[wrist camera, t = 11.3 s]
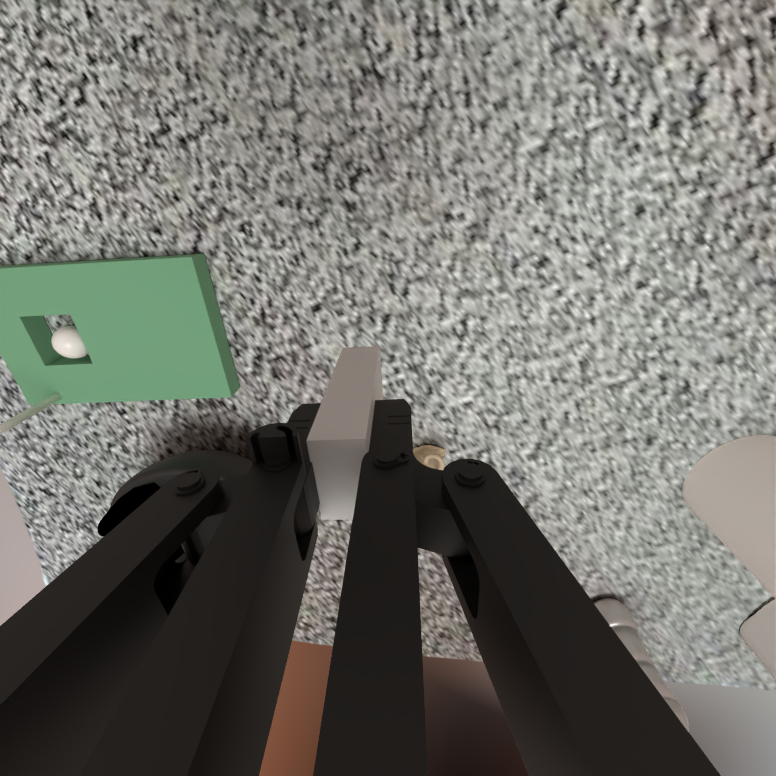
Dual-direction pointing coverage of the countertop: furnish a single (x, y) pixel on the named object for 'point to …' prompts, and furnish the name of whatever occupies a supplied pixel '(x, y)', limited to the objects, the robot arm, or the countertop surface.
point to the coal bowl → (163, 472)
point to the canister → (740, 501)
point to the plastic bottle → (638, 649)
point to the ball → (68, 342)
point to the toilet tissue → (762, 636)
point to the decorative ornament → (430, 456)
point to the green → (115, 332)
